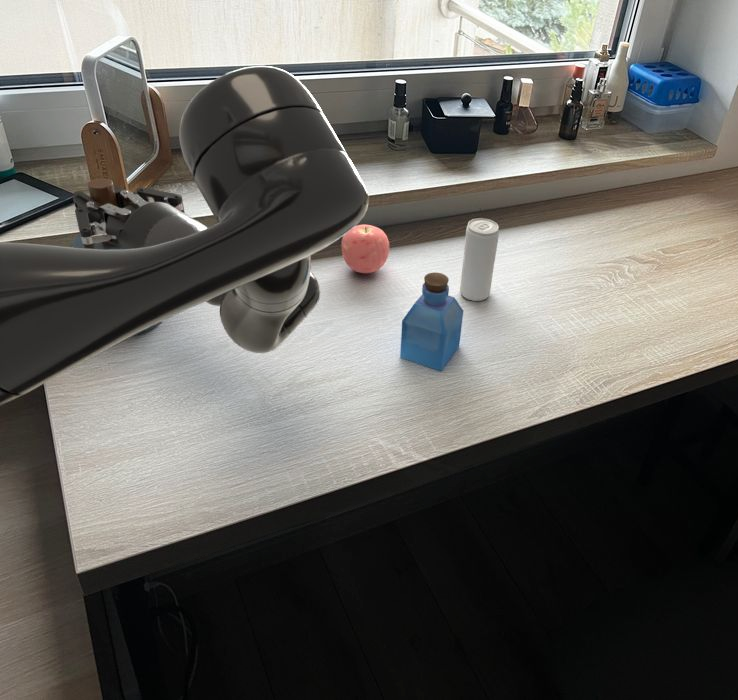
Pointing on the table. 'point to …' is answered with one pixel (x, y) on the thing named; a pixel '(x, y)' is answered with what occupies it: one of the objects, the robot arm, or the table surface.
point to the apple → (365, 248)
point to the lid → (102, 194)
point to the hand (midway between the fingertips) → (91, 194)
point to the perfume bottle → (432, 325)
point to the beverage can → (479, 258)
